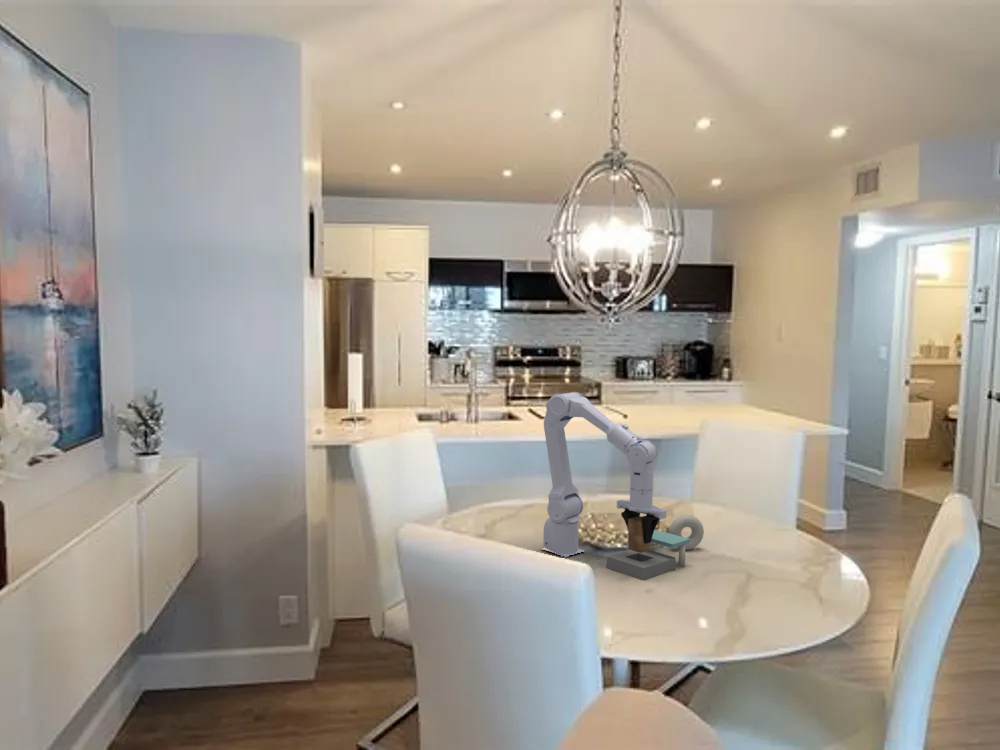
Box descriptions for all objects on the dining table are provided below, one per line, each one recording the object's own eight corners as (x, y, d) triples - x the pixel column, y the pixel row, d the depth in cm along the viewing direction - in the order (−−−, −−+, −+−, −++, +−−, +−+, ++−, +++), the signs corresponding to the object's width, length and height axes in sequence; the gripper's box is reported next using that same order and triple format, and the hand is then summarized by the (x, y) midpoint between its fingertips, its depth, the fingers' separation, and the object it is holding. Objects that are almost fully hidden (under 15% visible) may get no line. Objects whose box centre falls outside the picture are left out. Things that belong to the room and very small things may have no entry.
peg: (628, 549, 192) (628, 518, 191) (638, 546, 195) (638, 516, 194) (640, 553, 189) (640, 522, 188) (650, 549, 192) (650, 519, 191)
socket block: (606, 567, 193) (606, 556, 193) (638, 557, 201) (638, 546, 201) (643, 580, 184) (643, 568, 184) (675, 569, 192) (675, 557, 192)
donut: (670, 552, 207) (671, 516, 206) (666, 548, 210) (667, 513, 209) (705, 551, 208) (706, 515, 207) (700, 547, 211) (701, 512, 211)
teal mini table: (632, 558, 201) (632, 533, 200) (649, 553, 205) (650, 528, 205) (672, 571, 191) (672, 544, 190) (689, 565, 196) (690, 538, 195)
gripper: (609, 485, 194) (608, 537, 195) (654, 495, 183) (653, 550, 184) (626, 482, 198) (625, 532, 199) (672, 491, 187) (670, 544, 188)
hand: (640, 540), depth 192 cm, fingers closed on peg, 4 cm apart
